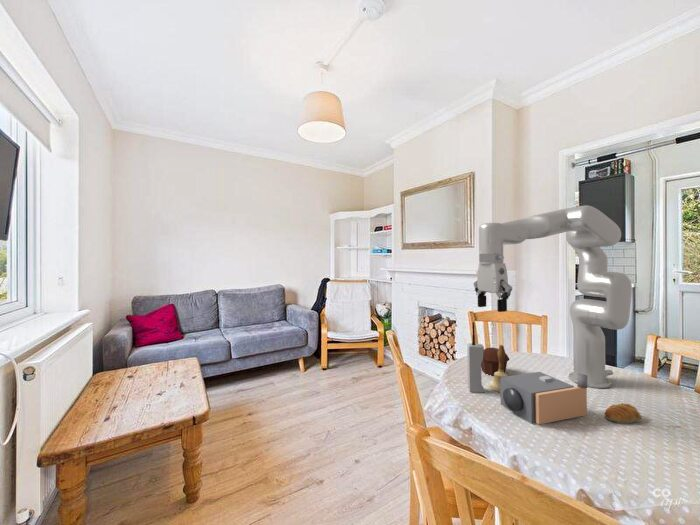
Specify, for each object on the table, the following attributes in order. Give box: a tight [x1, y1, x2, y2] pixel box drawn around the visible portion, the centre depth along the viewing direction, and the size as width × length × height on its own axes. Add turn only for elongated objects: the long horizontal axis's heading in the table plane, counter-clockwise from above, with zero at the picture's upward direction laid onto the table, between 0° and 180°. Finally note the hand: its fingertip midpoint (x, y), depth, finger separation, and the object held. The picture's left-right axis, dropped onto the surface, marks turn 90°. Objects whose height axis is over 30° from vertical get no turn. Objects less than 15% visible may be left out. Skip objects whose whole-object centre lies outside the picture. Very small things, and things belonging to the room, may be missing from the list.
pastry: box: [604, 402, 643, 424], centre depth 88 cm, size 9×7×4 cm
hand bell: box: [488, 344, 509, 393], centre depth 109 cm, size 8×8×16 cm
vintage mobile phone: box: [466, 321, 485, 394], centre depth 108 cm, size 4×5×25 cm
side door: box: [535, 374, 588, 425], centre depth 87 cm, size 18×2×12 cm, turn 105°
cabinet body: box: [500, 371, 575, 425], centre depth 94 cm, size 18×12×10 cm
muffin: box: [481, 347, 510, 377], centre depth 124 cm, size 12×11×10 cm
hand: (491, 309), depth 102 cm, fingers open, 9 cm apart
